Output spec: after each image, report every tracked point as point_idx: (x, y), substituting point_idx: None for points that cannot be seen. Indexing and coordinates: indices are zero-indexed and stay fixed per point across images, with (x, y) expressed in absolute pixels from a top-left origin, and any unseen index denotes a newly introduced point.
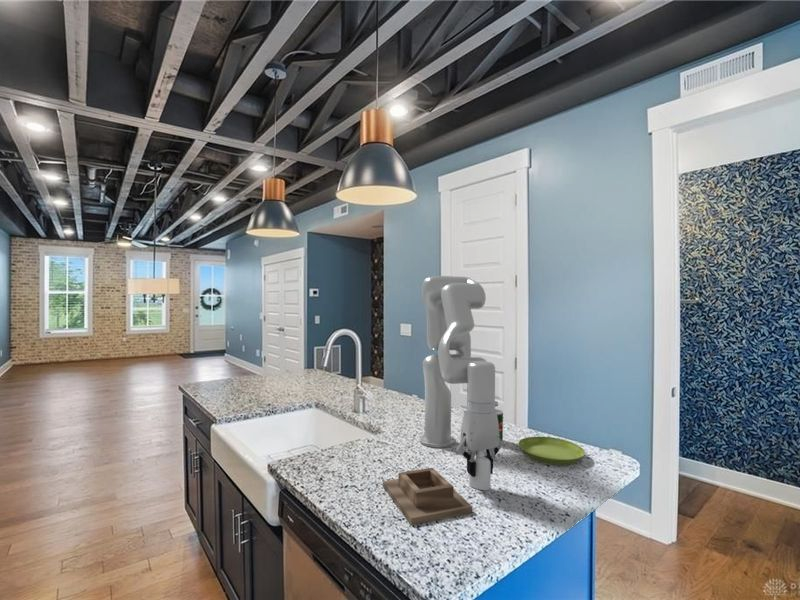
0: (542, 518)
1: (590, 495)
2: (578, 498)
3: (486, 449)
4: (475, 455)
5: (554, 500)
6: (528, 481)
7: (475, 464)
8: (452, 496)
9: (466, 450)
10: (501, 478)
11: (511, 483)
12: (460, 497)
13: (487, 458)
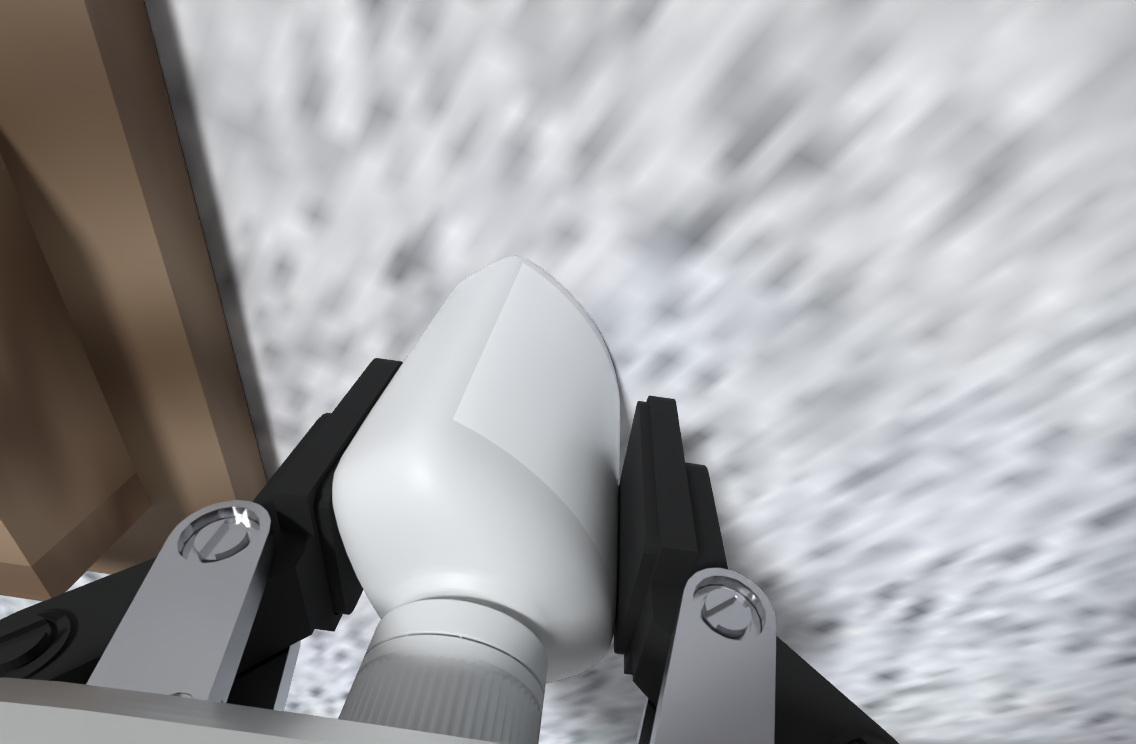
0: (622, 715)
1: (1129, 727)
2: (1020, 714)
3: (666, 731)
4: (429, 552)
5: (869, 673)
6: (1060, 464)
7: (353, 596)
8: (115, 532)
9: (103, 658)
10: (912, 301)
11: (881, 422)
12: (219, 499)
13: (573, 669)
